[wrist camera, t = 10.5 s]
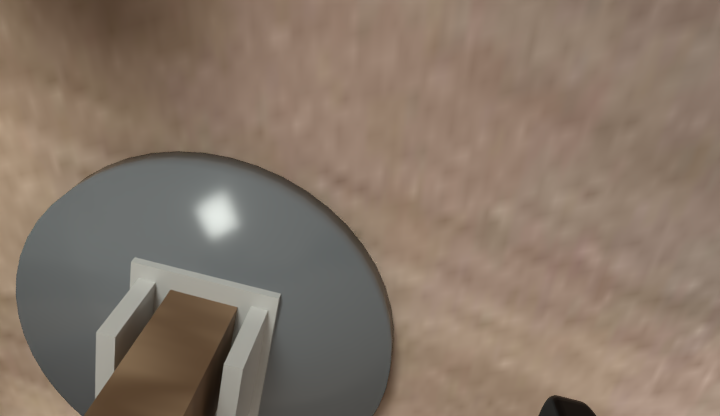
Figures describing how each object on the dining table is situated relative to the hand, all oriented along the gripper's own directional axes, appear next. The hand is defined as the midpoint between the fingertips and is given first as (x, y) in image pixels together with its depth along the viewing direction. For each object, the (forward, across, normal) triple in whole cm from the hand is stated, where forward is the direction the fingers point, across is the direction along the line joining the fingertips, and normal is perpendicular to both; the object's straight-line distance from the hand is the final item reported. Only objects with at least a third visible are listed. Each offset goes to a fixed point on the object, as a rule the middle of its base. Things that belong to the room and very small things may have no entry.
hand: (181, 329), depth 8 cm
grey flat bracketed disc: (+13, +3, +11) cm, 17 cm away
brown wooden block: (+12, +3, +11) cm, 16 cm away
